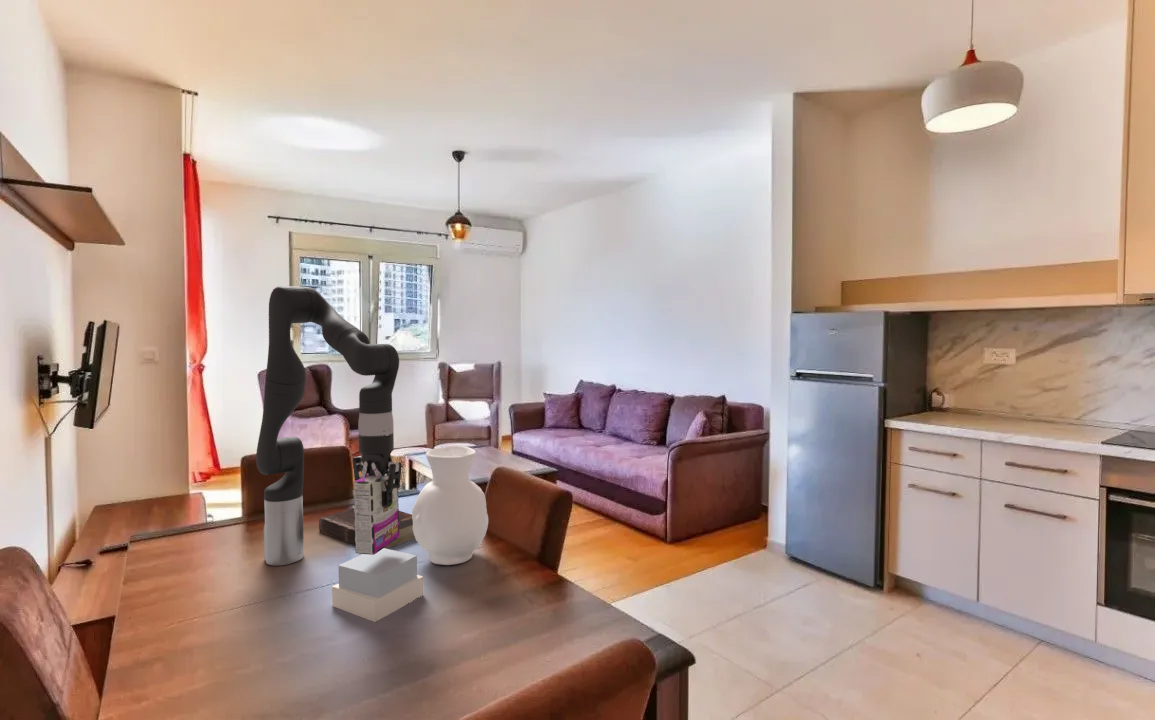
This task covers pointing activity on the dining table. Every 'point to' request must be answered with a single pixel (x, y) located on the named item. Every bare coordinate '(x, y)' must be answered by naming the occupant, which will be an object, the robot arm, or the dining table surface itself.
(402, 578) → the top block
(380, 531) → the candy bar box
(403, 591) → the lower block
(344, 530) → the hardback book
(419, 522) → the vase
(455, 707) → the dining table surface
